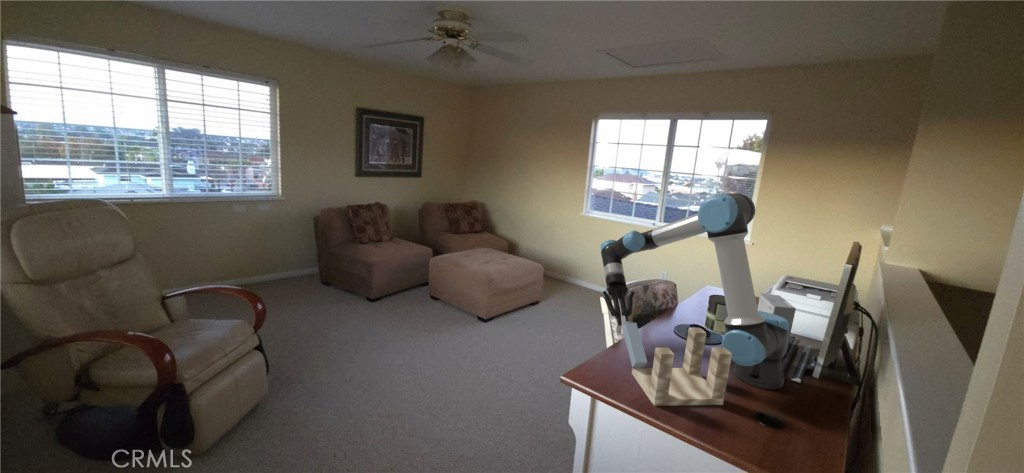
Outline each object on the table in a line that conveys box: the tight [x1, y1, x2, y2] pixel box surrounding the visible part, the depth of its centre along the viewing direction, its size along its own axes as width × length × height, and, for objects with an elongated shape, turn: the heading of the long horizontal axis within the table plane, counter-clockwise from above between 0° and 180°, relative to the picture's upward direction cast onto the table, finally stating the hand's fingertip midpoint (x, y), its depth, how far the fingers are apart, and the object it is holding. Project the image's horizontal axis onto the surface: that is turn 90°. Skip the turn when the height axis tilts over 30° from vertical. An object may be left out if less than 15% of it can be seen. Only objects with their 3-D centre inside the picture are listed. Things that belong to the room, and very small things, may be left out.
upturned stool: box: [631, 327, 732, 407], centre depth 135 cm, size 22×18×17 cm
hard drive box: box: [757, 292, 797, 354], centre depth 167 cm, size 16×8×20 cm, turn 168°
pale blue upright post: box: [622, 320, 648, 369], centre depth 148 cm, size 4×4×16 cm
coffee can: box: [704, 294, 728, 335], centre depth 182 cm, size 10×10×14 cm
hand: (624, 333), depth 156 cm, fingers closed
